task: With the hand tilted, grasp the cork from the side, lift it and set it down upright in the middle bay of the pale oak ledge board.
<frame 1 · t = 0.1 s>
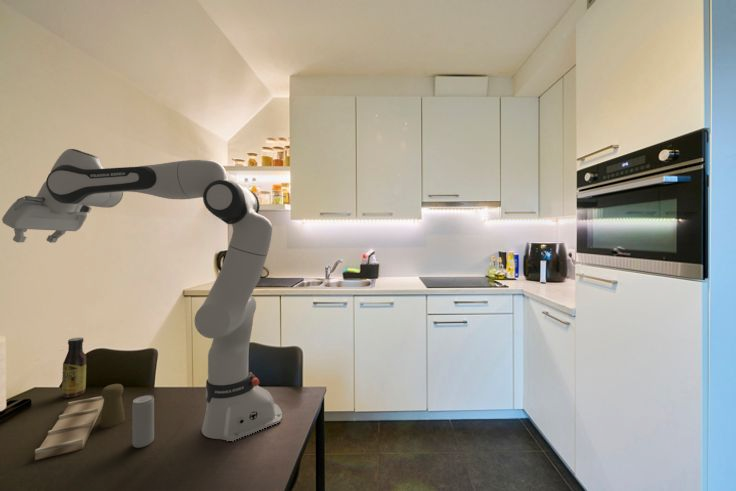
hand: (35, 241, 94), 54 cm above the table, tool tilted 30°, fingers open, 8 cm apart
ledge board: (75, 427, 94), on the table
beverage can: (143, 443, 87), on the table
sauce bottle: (74, 395, 114), on the table
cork: (112, 422, 97), on the table
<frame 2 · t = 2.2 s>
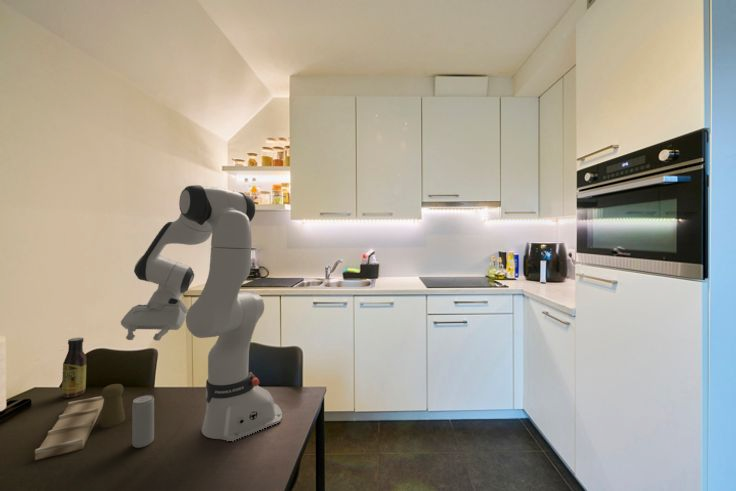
hand: (142, 339, 109), 21 cm above the table, tool tilted 45°, fingers open, 8 cm apart
nothing on the table moved.
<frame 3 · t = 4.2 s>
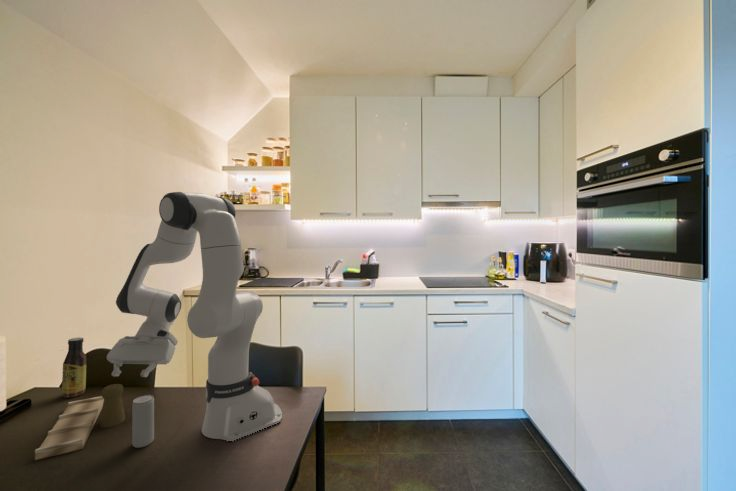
hand: (128, 376, 103), 11 cm above the table, tool tilted 45°, fingers open, 8 cm apart
nothing on the table moved.
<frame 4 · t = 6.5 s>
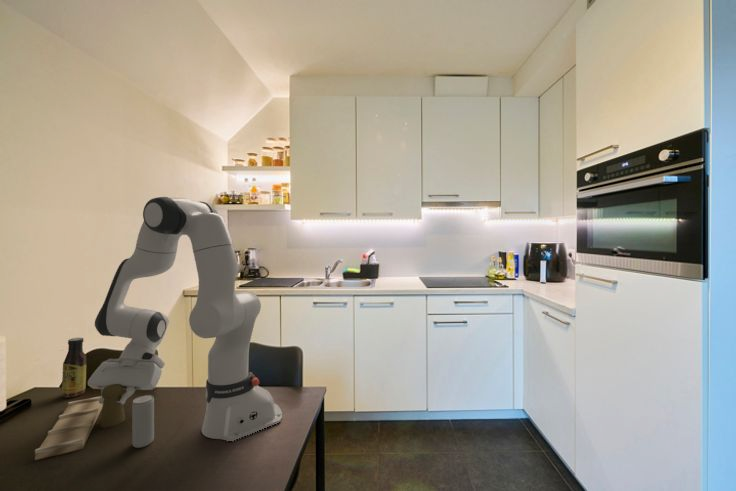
hand: (110, 403, 96), 6 cm above the table, tool tilted 45°, fingers closed on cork, 4 cm apart
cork: (112, 422, 97), on the table, touching gripper
everything else where it was.
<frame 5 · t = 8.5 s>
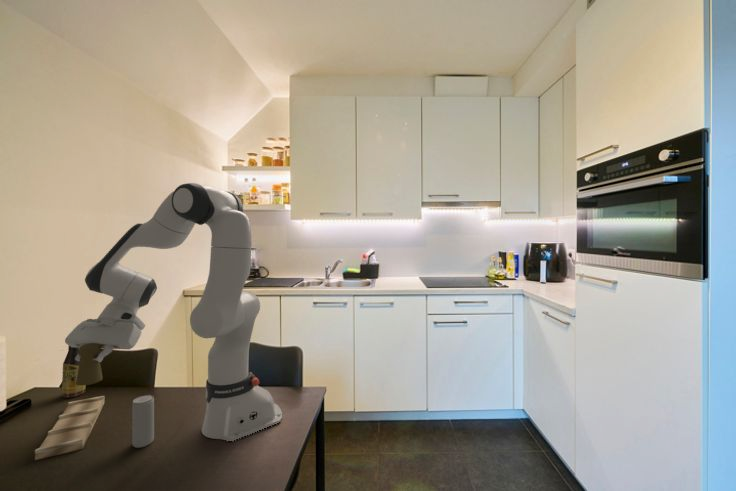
hand: (87, 360, 95), 19 cm above the table, tool tilted 45°, fingers closed on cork, 4 cm apart
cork: (89, 381, 96), point 13 cm above the table, touching gripper
everything else where it was.
when the fingers open (9 cm above the table, at t = 10.9 s): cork stays where it is, resting on ledge board.
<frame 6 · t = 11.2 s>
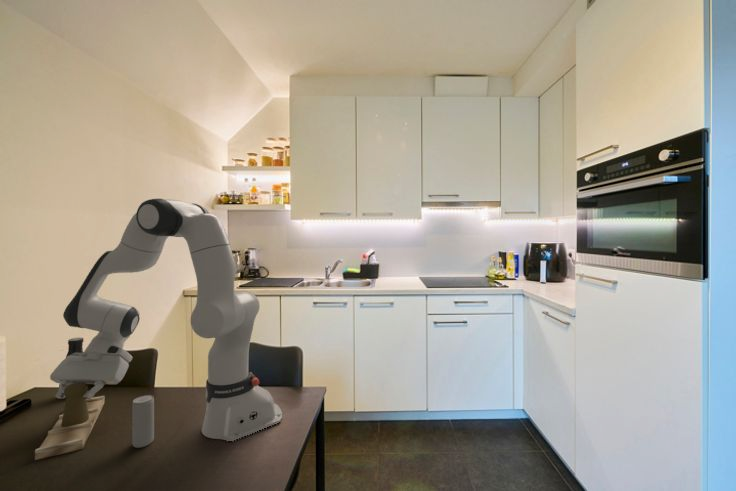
hand: (73, 398, 93), 9 cm above the table, tool tilted 45°, fingers open, 7 cm apart
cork: (75, 422, 94), point 1 cm above the table, touching ledge board
everything else where it was.
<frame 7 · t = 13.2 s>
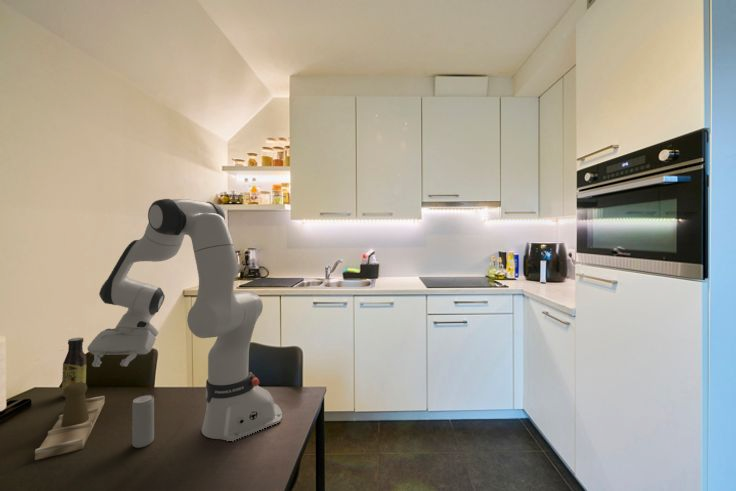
hand: (109, 365, 105), 14 cm above the table, tool tilted 45°, fingers open, 8 cm apart
nothing on the table moved.
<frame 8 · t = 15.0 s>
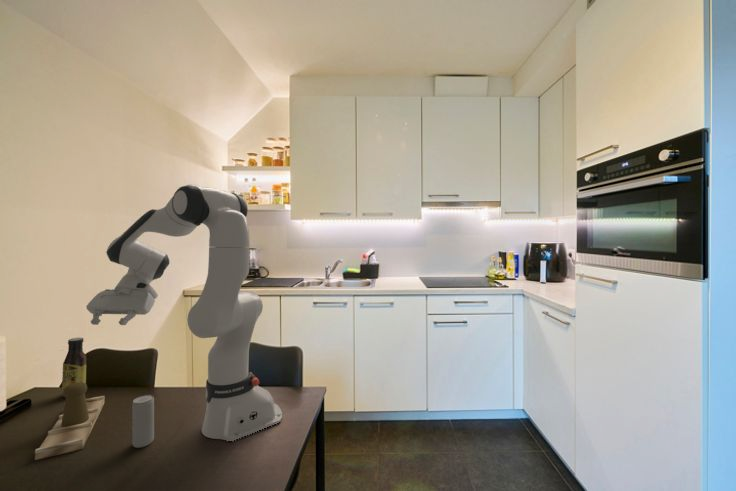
hand: (107, 324, 105), 27 cm above the table, tool tilted 45°, fingers open, 8 cm apart
nothing on the table moved.
at the end: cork inside the target area (0.1 cm from its centre), point 1.4 cm above the table; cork tilted 0°; the gripper is holding nothing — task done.
